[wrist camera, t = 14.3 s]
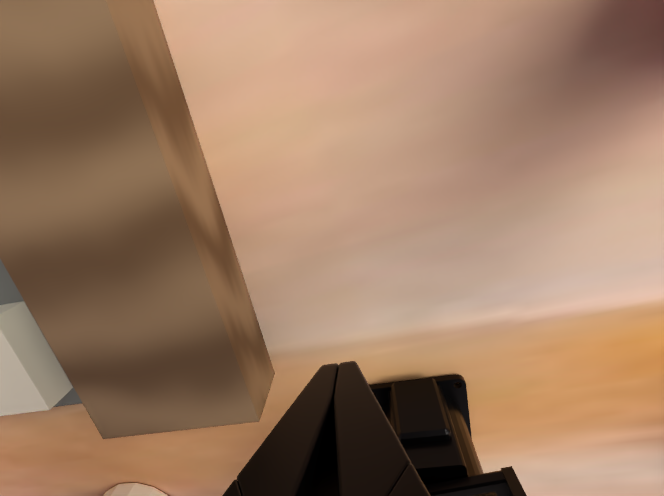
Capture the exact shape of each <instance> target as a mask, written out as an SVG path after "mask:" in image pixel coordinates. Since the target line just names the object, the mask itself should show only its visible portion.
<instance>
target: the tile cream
mask: <svg viewBox="0 0 664 496" xmlns="http://www.w3.org/2000/svg"><path fill="white" fill-rule="evenodd" d="M72 388H73V386H72V385H71V383H70V381H69V379H68V378H67V376H66V374H65V372H64V371H63V369H62V367H61V365H60V364H59V362H58V360H57V358H56V357H55V355H54V353H53V351H52V350H51V348H50V346H49V344H48V343H47V341H46V339H45V337H44V336H43V334H42V332H41V330H40V329H39V327H38V325H37V323H36V322H35V320H34V318H33V316H32V315H31V313H30V311H29V309H28V308H27V306H26V304H25V302H24V301H21V302H16V303H10V304H4V305H0V416H5V415H13V414H21V413H29V412H37V411H45V410H50V409H51V408H52V407H53V406H55V405H56V404H57V403H58V402H59V401H60V400H61V399H62V398H63V397H64V396H65V395H66V394H67V393H68V392H69V391H70V390H71V389H72Z"/></svg>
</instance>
